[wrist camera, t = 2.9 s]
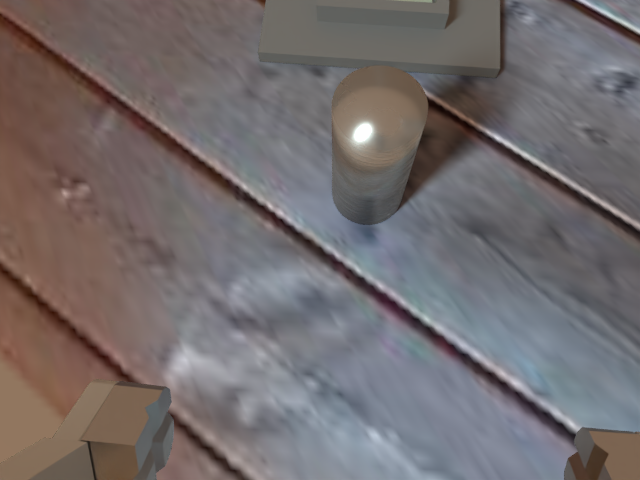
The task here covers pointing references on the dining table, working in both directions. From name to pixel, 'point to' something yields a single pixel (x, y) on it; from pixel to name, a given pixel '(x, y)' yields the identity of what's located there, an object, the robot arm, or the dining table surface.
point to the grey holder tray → (385, 34)
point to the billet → (374, 141)
